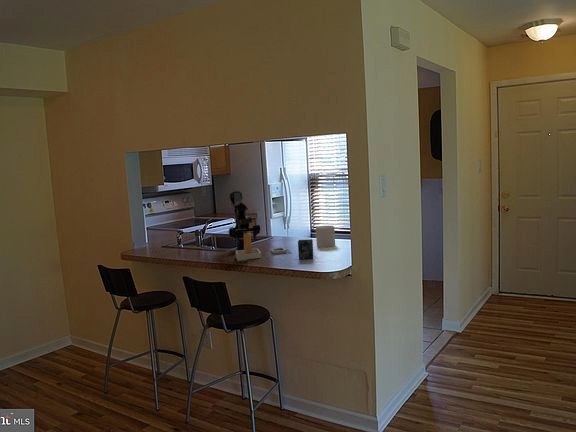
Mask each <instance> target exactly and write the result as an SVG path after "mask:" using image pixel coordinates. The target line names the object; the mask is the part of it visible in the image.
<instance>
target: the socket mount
mask: <svg viewBox="0 0 576 432" xmlns="http://www.w3.org/2000/svg"><path fill="white" fill-rule="evenodd" d="M265 254H266V255H267V256H268V257H273V256H282V255H284V256H285V255H292V254H293V253H292V252H291V250H289V249H286V248H285V247H277V248H274V247H273V248H270V250H269V251H265Z"/></svg>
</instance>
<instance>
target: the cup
mask: <svg viewBox="0 0 576 432" xmlns="http://www.w3.org/2000/svg"><path fill="white" fill-rule="evenodd" d="M335 232H336V231H335V226H333V225H320V226H316V227H315V239H316V240H315V241H316V247H317V248H333V247H335V246H336V237H335V236H336V235H335Z"/></svg>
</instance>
